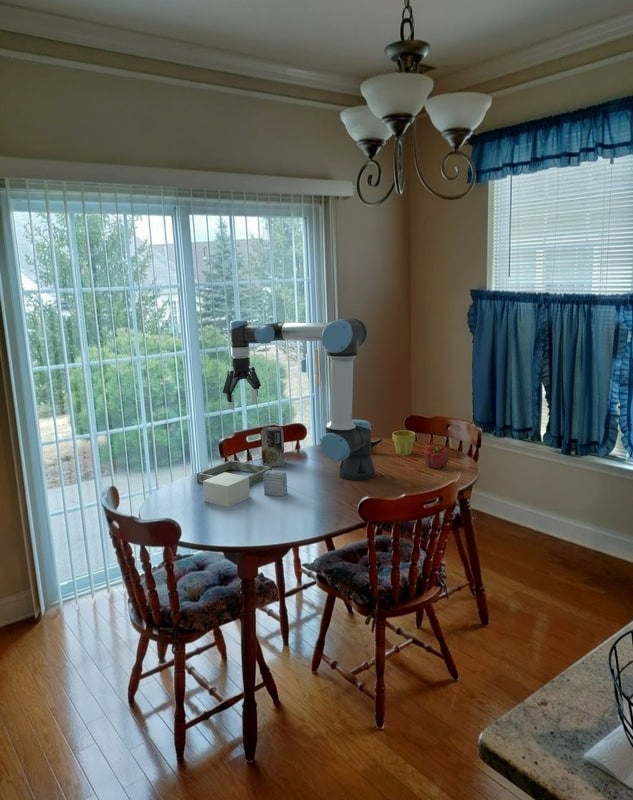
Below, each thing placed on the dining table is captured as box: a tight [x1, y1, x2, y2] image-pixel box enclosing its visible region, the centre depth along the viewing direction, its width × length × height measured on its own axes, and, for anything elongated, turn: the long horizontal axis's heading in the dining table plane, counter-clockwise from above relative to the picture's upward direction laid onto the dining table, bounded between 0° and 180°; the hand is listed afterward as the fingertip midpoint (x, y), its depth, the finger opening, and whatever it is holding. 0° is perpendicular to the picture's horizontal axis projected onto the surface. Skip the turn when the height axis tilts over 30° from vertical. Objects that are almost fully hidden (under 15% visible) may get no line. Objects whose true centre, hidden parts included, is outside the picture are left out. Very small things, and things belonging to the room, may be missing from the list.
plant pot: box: [391, 429, 416, 456], centre depth 277 cm, size 10×10×10 cm
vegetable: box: [423, 444, 450, 469], centre depth 255 cm, size 11×10×10 cm
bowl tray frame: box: [196, 459, 273, 487], centre depth 249 cm, size 22×21×4 cm
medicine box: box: [263, 469, 288, 497], centre depth 229 cm, size 8×4×9 cm, turn 71°
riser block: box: [202, 471, 251, 508], centre depth 225 cm, size 12×12×8 cm
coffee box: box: [260, 426, 286, 467], centre depth 267 cm, size 9×6×16 cm
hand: (243, 406), depth 258 cm, fingers open, 13 cm apart
